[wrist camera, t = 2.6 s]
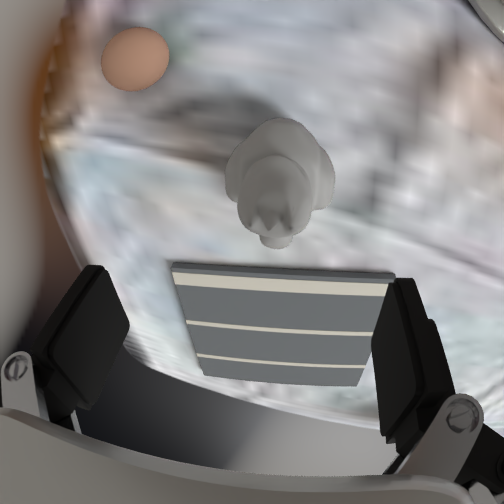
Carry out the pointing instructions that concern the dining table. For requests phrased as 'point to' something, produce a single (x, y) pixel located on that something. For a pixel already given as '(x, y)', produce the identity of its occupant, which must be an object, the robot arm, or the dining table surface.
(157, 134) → the dining table surface
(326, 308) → the mat
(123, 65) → the ball
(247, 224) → the grey lumpy piece
